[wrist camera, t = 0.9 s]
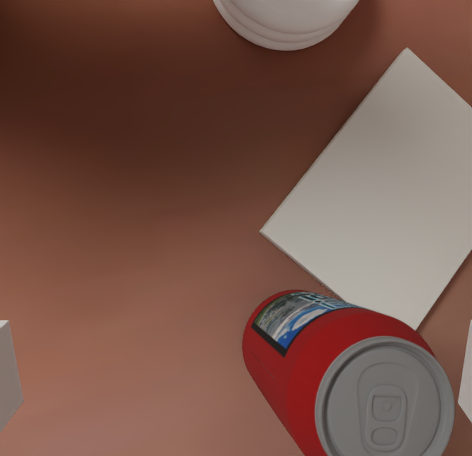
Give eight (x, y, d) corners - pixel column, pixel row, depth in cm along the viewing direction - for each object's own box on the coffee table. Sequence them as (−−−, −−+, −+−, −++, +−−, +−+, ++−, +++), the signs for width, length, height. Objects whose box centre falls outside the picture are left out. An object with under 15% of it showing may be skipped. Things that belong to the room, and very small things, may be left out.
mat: (396, 345, 28) (402, 348, 28) (258, 231, 27) (261, 231, 26) (522, 165, 31) (531, 163, 30) (400, 52, 29) (407, 47, 29)
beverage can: (345, 292, 28) (477, 325, 16) (336, 397, 28) (466, 509, 16) (244, 283, 27) (308, 311, 15) (234, 392, 26) (290, 509, 15)
